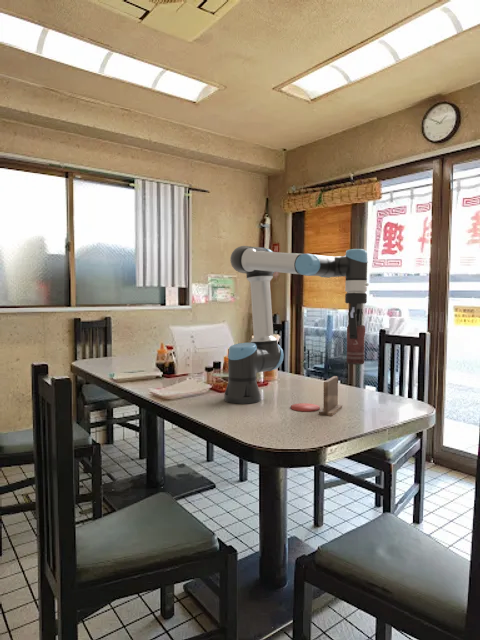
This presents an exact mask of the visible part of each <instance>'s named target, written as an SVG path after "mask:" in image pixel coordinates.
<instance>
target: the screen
mask: <svg viewBox="0 0 480 640" xmlns="http://www.w3.org/2000/svg"><path fill="white" fill-rule="evenodd" d="M338 392H339V376H337V375H333V376H332V377H330V378H328V379H326V380H324V381H323V408H321V409H319V410H318V415H320V416H330V417H333V416H335V414H336V413H338V412H339V411H340V410H342V409H343V405H342V404H339V402H338V401H339V400H338V399H339V393H338Z"/></svg>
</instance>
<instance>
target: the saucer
mask: <svg viewBox="0 0 480 640" xmlns="http://www.w3.org/2000/svg"><path fill="white" fill-rule="evenodd" d="M320 408H321V407H320V405H318V404H315V403H307V402H306V403H305V402H304V403H303V402H302V403H300V402H299V403H293V404H291V405H290V409H292V410H293V411H296V412H297V411H298V412H302V413H303V412H304V413H305V412H309V413H311V412H317V411H320V410H321V409H320Z"/></svg>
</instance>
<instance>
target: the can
mask: <svg viewBox="0 0 480 640" xmlns="http://www.w3.org/2000/svg"><path fill="white" fill-rule="evenodd" d="M349 336H350V334H349V324H348V325H347V327H346V363H347V364H348V365H360V366H361V365H364V364H365V336H366V326H365V325H363V324H362V325H360V326H357V339H351V338H350V337H349Z"/></svg>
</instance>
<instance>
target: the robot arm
mask: <svg viewBox="0 0 480 640" xmlns="http://www.w3.org/2000/svg"><path fill="white" fill-rule="evenodd" d="M368 263H369V262H368V251H367V250H366V249H363V248H353V249H352V248H351V249H347V250H346V251H345V255H343V256H340V255H339V256H329V255H321V254H320V255H319V254H312V253H296V252H280V251H273V250H271V249H270V248H265V247H260V246H251V245H250V246H249V245H241V246H237V247H236V248H234V249H233V251H232V252H231V254H230V264H231V267H232V268H233V270H235V271H236V272H238V273H241V274H245V275H246V280H247V281H248V282H249V283H250V295H251V296H250V297H251V313H252V314H251V315H252V328H253V329H252V330H253V338H252V339H251V341H250V342H243V343H242V342H240V343H235V344H232V345H231V346H230V347H229V348H228V355H227V360H228V361H227V362H228V363H227V365H228V370H227V371H228V372H227V373H228V380H227V381H228V382H227V386H226V388H225V391H224V394H223V395H224V398H223V400H224V401H225V402H226V401H227V402H226V403H231V404H236V405H237V404H238V405H240V404H241V405H243V404H255V403H259V402H260V401H261V399H262V397H261V391H260V388H259V385H258V383H257V374H258V373H263V372H271V371H274V370H277V369H278V368H280V366H281V365H282V364H283V361H284V350H283V348H282V347H281V345H279V344H278V339H277V338H276V337H275V335H274V327H273V326H274V325H273V311H272V308H273V307H272V293H271V281H272V279H273V278H274V273H284V274H290V275H291V274H293V275H302V276H305V277H306V276H308V277H310V276H312V277H313V276H314V277H321V278H327V279H328V278H329V279H330V278H337V277H338V278H339V277H345V287H344V292H346V293H345V295H344V303H345V304H350V308H349V309H348V313H347V315H348V325H349V334H350V336H349V337H350V338H351V339H357V326H360V325H363V323H362V322H363V315H364V312H363V308H362V305H361V304H367V302H368V301H367V299H368V296H367V293H366V292H367V289H368V286H369V283H367V282H368V281H367V280H368Z"/></svg>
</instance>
